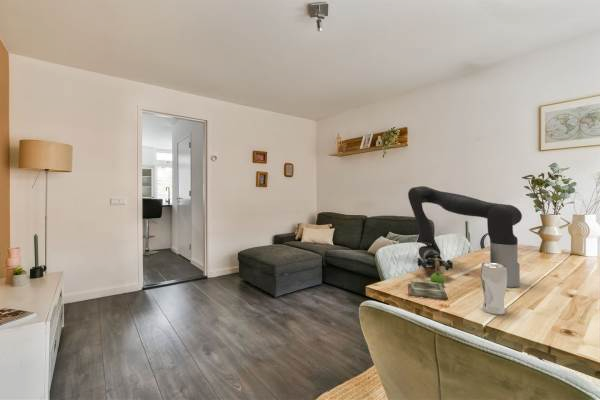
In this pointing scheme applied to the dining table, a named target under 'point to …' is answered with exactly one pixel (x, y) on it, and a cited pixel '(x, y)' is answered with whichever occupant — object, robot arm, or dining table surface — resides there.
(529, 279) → the dining table surface
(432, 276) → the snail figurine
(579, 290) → the dining table surface
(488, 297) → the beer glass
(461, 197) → the robot arm
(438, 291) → the grey shallow tray
